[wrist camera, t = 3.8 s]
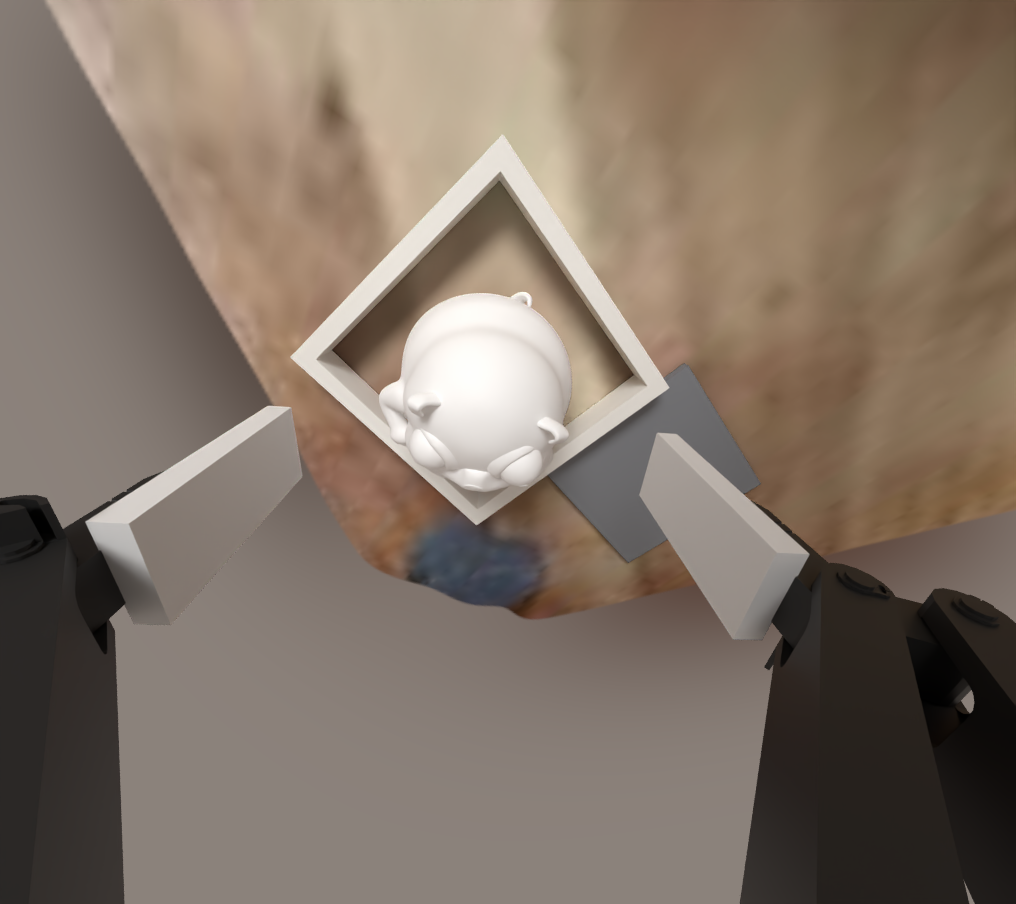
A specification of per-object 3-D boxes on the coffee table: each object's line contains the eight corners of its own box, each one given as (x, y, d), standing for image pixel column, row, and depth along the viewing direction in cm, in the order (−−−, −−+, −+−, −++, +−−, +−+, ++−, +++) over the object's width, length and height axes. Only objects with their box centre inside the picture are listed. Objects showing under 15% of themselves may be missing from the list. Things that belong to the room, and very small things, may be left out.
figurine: (442, 250, 22) (394, 242, 11) (588, 321, 24) (665, 371, 13) (392, 400, 26) (323, 500, 15) (522, 450, 28) (541, 568, 17)
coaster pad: (541, 466, 29) (542, 470, 28) (684, 363, 26) (688, 365, 25) (625, 557, 33) (628, 562, 33) (756, 479, 30) (761, 483, 29)
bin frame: (309, 348, 24) (290, 357, 22) (501, 147, 20) (502, 134, 18) (477, 505, 30) (476, 525, 28) (654, 376, 26) (669, 387, 24)
